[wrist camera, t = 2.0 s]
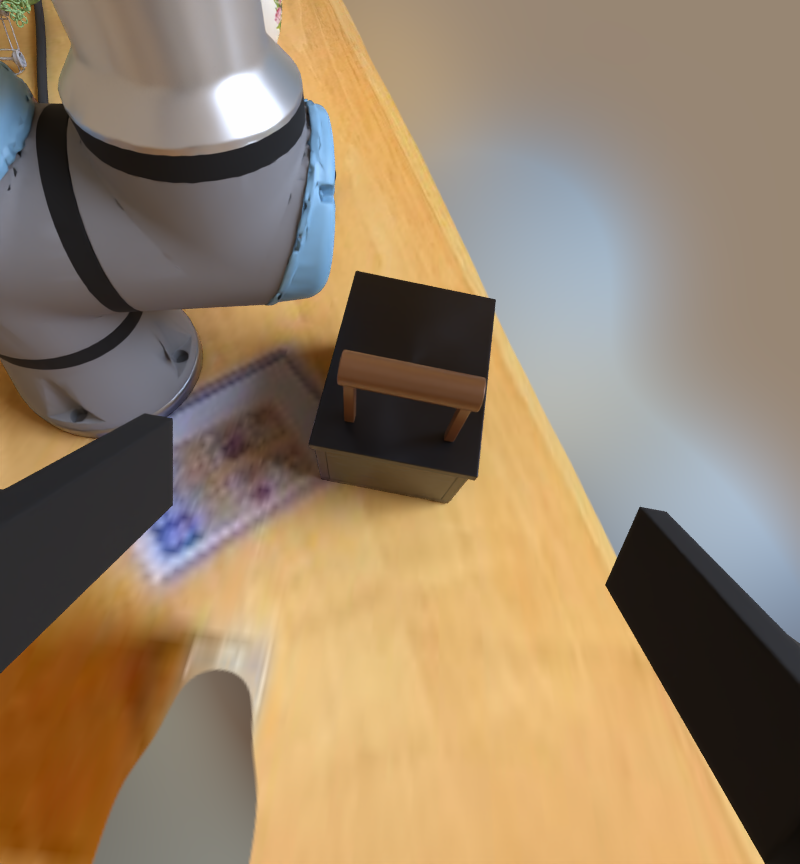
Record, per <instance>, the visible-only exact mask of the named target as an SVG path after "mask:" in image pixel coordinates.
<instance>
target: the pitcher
mask: <svg viewBox="0 0 800 864" xmlns="http://www.w3.org/2000/svg"><path fill="white" fill-rule="evenodd" d="M261 4H262V10H263V17H264V24H265V31H266V33H267V34H268V35H269V36H270V37H271V38H272V39H273V40H274V41H275V42H276V43H277V41H278V38H279V33H280V27H281V18H282V0H261Z"/></svg>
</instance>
